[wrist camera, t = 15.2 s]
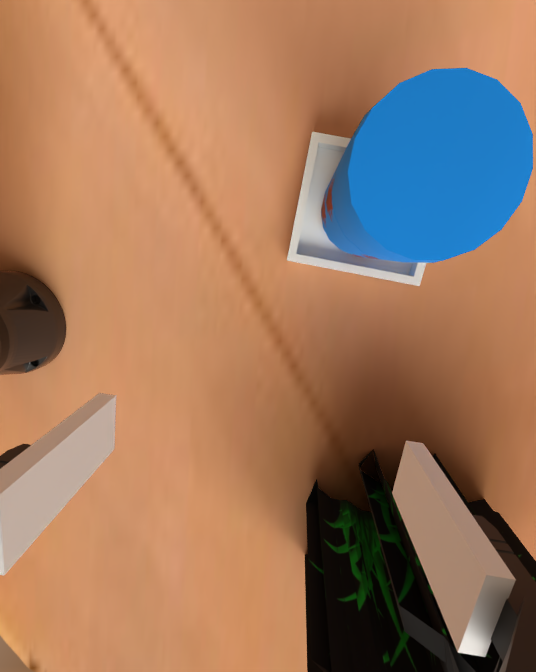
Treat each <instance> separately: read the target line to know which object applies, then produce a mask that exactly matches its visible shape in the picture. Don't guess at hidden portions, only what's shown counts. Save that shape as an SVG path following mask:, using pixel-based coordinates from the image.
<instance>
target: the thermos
mask: <svg viewBox="0 0 536 672" xmlns="http://www.w3.org/2000/svg"><path fill="white" fill-rule="evenodd" d="M532 169H533V134H532V131H531V129H530V126H529V124H528V121H527V119H526V116H525V114H524V111H523V108H522V106H521V103H520V102H519V101H518V100H517V99H516V98H515V97H514V96H513V95H512V94H511V93H510V92H509V91H508V90H507V89H506V88H505V87H504V86H503V85H502V84H501V83H500V82H499V81H498V80H497V79H494V78H491V77H489V76H486V75H483V74H481V73H478V72H476V71H473V70H470V69H468V68H453V69H432V70H429V71H427V72H425V73H422V74H420V75H418V76H415V77H413V78H411V79H408V80H406V81H404V82H401V83H399V84H398V85H397V86H396V87H395V88H394V89H393V90H391V91H390V92H389V93H388V94H387V95H386V96H385V97H384V98H383V99H381V100H380V101H379V102H378V103H377V104H376V105H375V106H374V107H373V108H372V109H371V110H370V111H369V112H368V113H367V114H366V115H365V116H364V117H363V119H362V121H361V123H360V124H359V126H358V128H357V130H356V131H355V133H354V135H353V137H352V138H351V140H350V142H349V144H348V145H347V147H346V149H345V151H344V154H343V156H342V158H341V160H340V162H339V164H338V166H337V168H336V170H335V172H334V174H333V177H332V179H331V181H330V183H329V185H328V187H327V189H326V191H325V194H324V199H323V204H322V209H321V217H322V224H323V229H324V231H325V232H326V234H327V236H328V238H329V240H330V241H331V242H332V243H333V244H334V245H336V246H337V247H338V248H339V249H340V250H342V251H344V252H347V253H349V254H352V255H354V256H357V257H365V258H373V259H381V260H389V261H397V262H417V263H434V262H438V261H442V260H446V259H449V258H452V257H455V256H458V255H460V254H463V253H466V252H469V251H472V250H475V249H476V248H477V247H479V246H480V245H481V244H483V243H484V242H485V241H487V240H488V239H489V238H491V237H492V236H493V235H495V234H496V233H497V232H499V231H500V230H501V229H502V228H503V227H504V225H505V224H506V222H507V221H508V220H509V218H510V217H511V216H512V214H513V213H514V212H515V210H516V209H517V207H518V206H519V205H520V203H521V202H522V199H523V196H524V193H525V190H526V187H527V184H528V181H529V178H530V175H531V172H532Z"/></svg>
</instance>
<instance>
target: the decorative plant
mask: <svg viewBox="0 0 536 672" xmlns="http://www.w3.org/2000/svg"><path fill="white" fill-rule="evenodd" d="M373 450H374V449H373ZM373 450H372V451H373ZM372 451H371V452H372ZM371 452H370V453H369V454H368V455H367V456H366V457H365V458H364V459H363V460H362V461H361V462H360V463H359V470H360V474H361V477H362V481H363V484H364V488H365V492H366V495H367V499H368V502H369V506H370V509H371V512H367V511H362V510H360V509H359V508H357V507H356V506H355V505H353V504H352V503H350V502H349V501H348V500H338V499H334V498H330V497H329V496H328V495H327V494H325V493H324V492H323V491H322V490H321V489H319V488H318V483H317V479H316V481H315V484H314V486H313V489H312V491H311V493H310V496H309V498H308V500H307V503H306V513H307V543H308V554H307V555H305V584H306V627H307V670H308V672H494V670H495V668H496V665H497V663H498V660H499V658H500V656H499V654H498V652H497V650H496V648H495V646H494V644H493V642H492V641H491V644H490V646H489V649H488V651H487V654H486V656H485V657H482V656H476V655H470V654H464V653H458V652H457V649H456V647H455V645H454V642H453V640H452V637H451V635H450V632H449V630H448V628H447V625H446V623H445V620H444V618H443V615H442V613H441V611H440V608H439V606H438V603H437V601H436V599H435V596H434V594H433V591H432V589H431V586H430V584H429V582H428V579H427V577H426V574H425V572H424V569H423V567H422V565H421V562H420V560H419V557H418V555H417V553H416V550H415V548H414V545H413V543H412V540H411V538H410V536H409V533H408V531H407V528H406V526H405V523H404V521H403V519H402V516H401V514H400V511H399V510H398V507H397V505H396V502H395V499H394V497H393V494H392V492H391V489H390V487H389V484H388V482H387V481H386V479H385V478H384V476H383V473H382V470H381V468H380V465H379V462H378V460H377V457H376V454H375V452H374V459H375V467H376V470H377V472H378V475H379V478H380V481H381V483H380V482H379V481H377V480H376V479H374V478H372V477H371V476H369V475H368V474H366V473H365V472H363V471H361V469H360V467H361V466H362V465H363V463H364V462H365V460H366V459H367V458H368V456H369V455H370V454H371ZM433 458H434V460H435V461H436V463H437V464H438V466H439V467H440V469H441V470H442V472H443V473H444V474H445V476H446V477H447V479H448V480H449V482H450V483H451V485H452V486H453V488H454V489H455V491H456V492H457V494H458V495H459V497H460V498H461V500H462V501H463V503H464V504H465V505H466V507H467V508H468V510H469V511H470V513H471V514H472V515H478V516H482V517H484V518H485V519H486V520H487V521H488V522H489V523H491V524H492V525H493V526H494V527H495V528H496V529H497V530H498V532H499V533H500V534H501V536H502V537H503V538H504V540H505V541H506V544H508V545H509V547H510V548H511V549H512V551H513V554H514V555H516V556H517V557H518V559H519V560H520V562H521V563H522V564H523V566H524V567H525V568H526V570H527V571H528V573H529V574H530V575H531V577H532V578H533V579H534V581H535V582H536V561H535V560H534V558H533V557H532V556H531V555H530V553H529V552H528V551H527V549H526V548H525V547H524V545H523V544H522V543H521V541H520V540H519V539H518V537H517V536H516V535H515V534H514V532H513V531H512V530H511V528H510V527H509V526H508V524H507V523H506V522H505V520H504V519H503V518H502V516H501V515H500V514H499V513H498V512H495V511H493V510H492V509H491V507H490V506H489V505H488V503H487V502H486V501H485V499H483V500H478V501H474V502H470V503H468V502H467V501H466V499H465V498H464V496H463V495H462V493H461V492H460V490H459V489H458V487H457V486H456V484H455V483H454V481H453V480H452V478H451V477H450V475H449V474H448V472H447V471H446V469H445V468H444V466H443V465H442V463H441V462H440V460H439V459H438V457H437V456H436V454H434V455H433ZM382 486H383V487H382ZM383 489H384V490H383ZM384 492H385V493H384ZM385 495H386V496H385ZM386 498H387V499H386ZM387 500H388V501H387Z"/></svg>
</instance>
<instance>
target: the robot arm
mask: <svg viewBox="0 0 536 672" xmlns="http://www.w3.org/2000/svg"><path fill="white" fill-rule="evenodd" d="M65 335H66V324H65V318H64V314H63V311H62V309H61V306H60V304H59V303H58V301H57V299H56V298H55V296H54V295H53V294H52V292H51V291H50V290H49V289H48V288H47V287H46V286H45V285H44V284H43V283H41V282H40V281H38V280H37V279H35V278H34V277H32V276H30V275H27V274H25V273H21V272H17V271H0V375H4V374H21V373H27V372H31V371H34V370H36V369H38V368H40V367H43V366H45V365H47V364H48V363H50V362H51V361H52V360H53V359H55V357H56V356H57V355H58V354H59V352H60V351H61V349H62V346H63V344H64V340H65ZM115 417H116V395H110V394H104V393H99V394H97V395H96V396H95V397H94V398H92V399H91V400H90V401H88V402H87V403H86V404H84V405H83V406H82V407H80V408H79V409H78V410H77V411H75V412H74V413H73V414H71V415H70V416H69V417H67V418H66V419H65V420H63V421H62V422H61V423H60V424H58V425H57V426H56V427H54V428H53V429H52V430H50V431H49V432H48V433H47V434H45V435H44V436H43V437H41V438H40V439H39V440H37V441H36V442H35V443H33V444H32V445H28V444H22V445H20V446H17V447H15V448H13V449H10V450H8V451H6V452H5V453H4V454H2V455H1V456H0V575H5V574H6V573H7V572H8V571H9V570H10V568H11V567H12V566H13V565H14V564H15V563H16V562H17V560H18V559H19V558H20V557H21V556H22V555H23V553H24V552H25V551H26V550H27V549H28V548H29V547H30V545H31V544H32V543H33V542H34V541H35V540H36V539H37V537H38V536H39V535H40V534H41V533H42V532H43V531H44V529H45V528H46V527H47V526H48V525H49V524H50V522H51V521H52V520H53V519H54V518H55V517H56V516H57V514H58V513H59V512H60V511H61V510H62V509H63V508H64V506H65V505H66V504H67V503H68V502H69V501H70V499H71V498H72V497H73V496H74V495H75V494H76V493H77V491H78V490H79V489H80V488H81V487H82V486H83V485H84V483H85V482H86V481H87V480H88V479H89V478H90V476H91V475H92V474H93V473H94V472H95V471H96V470H97V468H98V467H99V466H100V465H101V464H102V463H103V462H104V460H105V459H106V458H107V457H108V456H109V455H110V454H111V452H112V451H113V450H114V447H115ZM392 494H393V497H394V499H395V502H396V504H397V507H398V509H399V511H400V514H401V516H402V519H403V521H404V523H405V526H406V528H407V531H408V533H409V536H410V538H411V540H412V543H413V545H414V548H415V550H416V553H417V555H418V557H419V560H420V562H421V565H422V567H423V569H424V572H425V574H426V577H427V579H428V582H429V584H430V586H431V589H432V591H433V594H434V596H435V599H436V601H437V603H438V606H439V608H440V611H441V613H442V615H443V618H444V620H445V623H446V625H447V628H448V630H449V632H450V635H451V637H452V640H453V642H454V645H455V647H456V649H457V652H458V653H464V654H470V655H476V656H482V657H485V656H486V654H487V651H488V649H489V646H490V644H491V641H492V642H493V644H494V646H495V648H496V650H497V652H498V654H499V656H500V658H499V660H498V663H497V665H496V668H495V670H494V672H536V582H535V581H534V579H533V578H532V577H531V575H530V574H529V573H528V571H527V570H526V568H525V567H524V566H523V564H522V563H521V562H520V560H519V559H518V557H517V556H516V555H514V554H513V551H512V549H511V548H510V547H509V545H508V544H506V541H505V540H504V538H503V537H502V536H501V534H500V533H499V532H498V530H497V529H496V528H495V527H494V526H493V525H492V524H491V523H489V522H488V521H487V520H486V519H485V518H484V517H482V516H478V515H472V514H471V513H470V511H469V510H468V508H467V507H466V505H465V504H464V503H463V501H462V500H461V498H460V497H459V495H458V494H457V492H456V491H455V489H454V488H453V486H452V485H451V483H450V482H449V480H448V479H447V477H446V476H445V474H444V473H443V472H442V470H441V469H440V467H439V466H438V464H437V463H436V461H435V460H434V458H433V457H432V455H431V454H430V452H429V451H428V449H427V448H426V446H425V445H424V443H419V442H412V441H406V443H405V446H404V450H403V454H402V458H401V461H400V465H399V469H398V473H397V476H396V480H395V484H394V488H393V492H392Z"/></svg>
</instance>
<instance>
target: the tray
mask: <svg viewBox="0 0 536 672" xmlns="http://www.w3.org/2000/svg"><path fill="white" fill-rule="evenodd" d="M350 140H351V138H345V137H340V136H334V135H329V134H323V133H318V132H312V135H311V140H310V145H309V150H308V155H307V160H306V165H305V171H304V176H303V181H302V186H301V191H300V196H299V201H298V206H297V211H296V216H295V221H294V227H293V232H292V237H291V242H290V247H289V252H288V257H287V260H288V261H293V262H298V263H303V264H308V265H313V266H318V267H323V268H329V269H334V270H339V271H344V272H349V273H354V274H359V275H365V276H370V277H375V278H380V279H385V280H390V281H395V282H401V283H406V284H411V285H416V286H420V283H421V279H422V276H423V273H424V269H425V266H426V263H417V262H397V261H389V260H381V259H373V258H365V257H357V256H354V255H352V254H349V253H347V252H344V251H342V250H340V249H339V248H338V247H337V246H336V245H334V244H333V243H332V242H331V241H330V240H329V238H328V236H327V234H326V232H325V231H324V229H323V224H322V217H321V209H322V204H323V199H324V194H325V191H326V189H327V187H328V185H329V183H330V181H331V179H332V177H333V174H334V172H335V170H336V168H337V166H338V164H339V162H340V160H341V158H342V156H343V154H344V151H345V149H346V147H347V145H348V144H349V142H350Z"/></svg>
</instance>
